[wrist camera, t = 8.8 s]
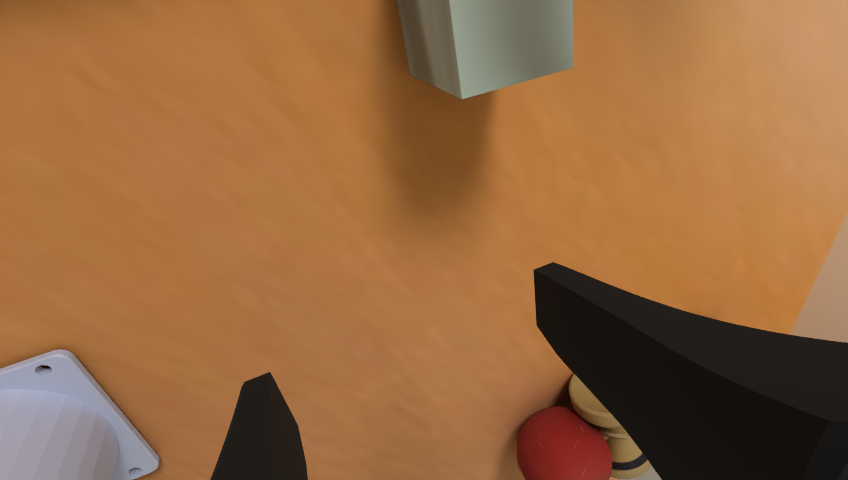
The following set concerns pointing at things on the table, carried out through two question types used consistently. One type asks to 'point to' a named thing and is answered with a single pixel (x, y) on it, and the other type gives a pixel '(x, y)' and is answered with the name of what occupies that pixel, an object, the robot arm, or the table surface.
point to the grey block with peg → (485, 42)
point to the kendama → (578, 442)
